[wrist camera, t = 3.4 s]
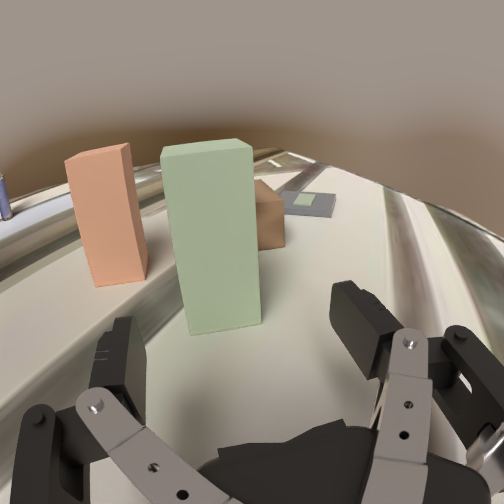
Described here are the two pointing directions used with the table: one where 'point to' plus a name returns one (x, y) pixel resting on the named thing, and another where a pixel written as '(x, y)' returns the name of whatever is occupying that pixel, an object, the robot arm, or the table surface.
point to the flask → (4, 201)
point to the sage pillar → (214, 232)
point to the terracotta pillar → (108, 214)
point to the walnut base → (268, 217)
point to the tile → (308, 203)
